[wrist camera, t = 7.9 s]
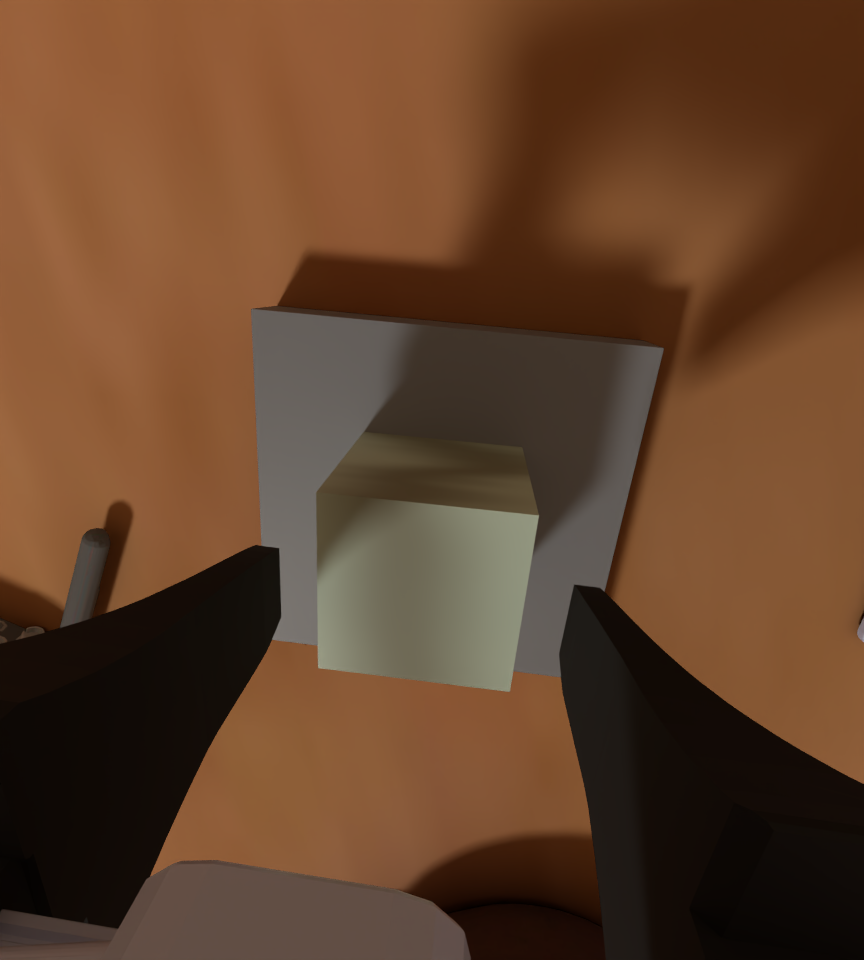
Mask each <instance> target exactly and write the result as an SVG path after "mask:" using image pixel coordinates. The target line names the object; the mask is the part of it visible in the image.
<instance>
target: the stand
mask: <svg viewBox="0 0 864 960" xmlns="http://www.w3.org/2000/svg"><path fill="white" fill-rule="evenodd" d="M251 316H252V338H253V361H254V383H255V406H256V428H257V451H258V473H259V496H260V518H261V541H262V546H266V547H275V548H279V553H280V586H281V619H280V622H279V624H278V627H277V629H276V631H275V634H274V636H273V638H272V640H279V641H287V642H295V643H302V644H310V645H318V613H317V520H316V492H317V491H318V489H319V488H320V487H321V485H322V484H323V483H324V482H325V480H326V479H327V478H328V477H329V475H330V474H331V473H332V471H333V470H334V469H335V468H336V466H337V465H338V464H339V463H340V461H341V460H342V459H343V458H344V456H345V455H346V454H347V452H348V451H349V450H350V449H351V447H352V446H353V445H354V444H355V442H356V441H357V440H358V438H359V437H360V436H361V435H362V433H363V432H371V433H381V434H392V435H402V436H412V437H422V438H433V439H443V440H453V441H464V442H474V443H484V444H495V445H505V446H515V447H522V448H523V452H524V456H525V460H526V464H527V468H528V472H529V477H530V481H531V485H532V489H533V493H534V497H535V501H536V505H537V510H538V514H539V518H538V524H537V530H536V536H535V542H534V548H533V554H532V560H531V566H530V572H529V579H528V585H527V591H526V597H525V603H524V609H523V615H522V621H521V627H520V633H519V639H518V645H517V651H516V657H515V663H514V669H513V671H517V672H524V673H532V674H540V675H547V676H555V677H561V671H560V660H559V651H560V647H561V642H562V638H563V633H564V628H565V624H566V619H567V615H568V610H569V605H570V601H571V596H572V591H573V587H574V585H583V586H591V587H599V588H601V589H602V590H603V591H604V592H605V588H606V583H607V579H608V575H609V571H610V567H611V563H612V559H613V555H614V551H615V547H616V543H617V538H618V534H619V530H620V526H621V522H622V518H623V514H624V510H625V506H626V502H627V498H628V493H629V489H630V485H631V481H632V477H633V473H634V469H635V465H636V461H637V457H638V452H639V448H640V444H641V440H642V436H643V432H644V428H645V424H646V420H647V416H648V412H649V407H650V403H651V399H652V395H653V391H654V387H655V383H656V379H657V375H658V371H659V366H660V362H661V358H662V354H663V350H664V348H662V347H660V346H657V345H654V344H651V343H649V342H646V341H643V340H633V339H622V338H611V337H601V336H590V335H580V334H569V333H558V332H548V331H537V330H526V329H516V328H505V327H495V326H484V325H473V324H463V323H452V322H442V321H431V320H420V319H410V318H399V317H389V316H378V315H367V314H357V313H346V312H336V311H325V310H314V309H304V308H293V307H283V306H272V307H263V308H255V309H251Z"/></svg>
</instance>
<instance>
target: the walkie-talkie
mask: <svg viewBox="0 0 864 960" xmlns="http://www.w3.org/2000/svg"><path fill="white" fill-rule="evenodd" d="M109 548H110V539H109V535H108V533H107V532H106V531H105V530H104V529H100V528H96V529H90V530H89V531H87V532H86V533H85V534H84V535H83V537H82V540H81V544H80V548H79V553H78V557H77V561H76V565H75V569H74V573H73V577H72V581H71V585H70V589H69V593H68V597H67V601H66V605H65V609H64V613H63V617H62V621H61V626H60V628H61V627H65V626H68V625H71V624H75V623H78V622H81V621H85V620H88V619H91V618H92V616H93V612H94V609H95V605H96V601H97V598H98V594H99V590H100V582H101V578H102V574H103V570H104V567H105V563H106V559H107V555H108V551H109ZM41 633H45V632H44V630H43V628H41V627H37V626H33V627H28V628H26V629H24V628H22V627H20V626H17V625H15V624H13V623H10V622H8V621H6V620H4V619H1V618H0V644H1V643H5V642H10V641H14V640H18V639H22V638H26V637H30V636H34V635H38V634H41Z"/></svg>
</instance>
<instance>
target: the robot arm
mask: <svg viewBox="0 0 864 960" xmlns="http://www.w3.org/2000/svg"><path fill="white" fill-rule="evenodd" d="M280 619H281V586H280V553H279V548H275V547H266V546H258V545H255V546H252V547H250V548H247V549H245V550H243V551H241V552H239V553H237V554H235V555H233V556H231V557H229V558H227V559H225V560H223V561H221V562H219V563H217V564H215V565H213V566H211V567H210V568H208V569H206V570H204V571H202V572H200V573H198V574H196V575H194V576H192V577H190V578H188V579H186V580H184V581H181V582H179V583H177V584H175V585H173V586H171V587H168V588H166V589H164V590H162V591H160V592H158V593H155V594H153V595H151V596H149V597H147V598H144V599H142V600H139V601H137V602H135V603H132V604H130V605H127V606H124V607H122V608H119V609H116V610H114V611H111V612H108V613H105V614H103V615H100V616H97V617H94V618H91V619H88V620H85V621H81V622H78V623H75V624H71V625H68V626H65V627H61V628H58V629H55V630H51V631H48V632H45V633H41V634H38V635H34V636H30V637H26V638H22V639H18V640H14V641H10V642H5V643H1V644H0V960H471V957H470V953H469V949H468V945H467V941H466V937H465V933H464V931H463V930H462V928H461V927H460V926H459V925H458V924H457V923H456V922H455V921H454V920H453V919H452V918H450V917H449V916H448V915H447V914H446V913H445V912H444V911H442V910H441V909H440V908H439V907H438V906H437V905H435V904H434V903H433V902H432V901H429V900H426V899H423V898H420V897H417V896H414V895H411V894H408V893H405V892H402V891H399V890H396V889H391V888H385V887H379V886H373V885H367V884H360V883H354V882H348V881H342V880H336V879H329V878H323V877H317V876H311V875H305V874H298V873H292V872H286V871H280V870H274V869H268V868H261V867H255V866H249V865H243V864H237V863H230V862H224V861H218V860H202V861H180V862H177V863H174V864H172V865H170V866H168V867H167V868H165V869H163V870H161V871H160V872H158V873H156V874H154V875H153V876H151V877H150V875H151V872H152V870H153V868H154V865H155V863H156V861H157V858H158V856H159V854H160V851H161V849H162V847H163V844H164V842H165V840H166V837H167V835H168V833H169V831H170V829H171V827H172V824H173V822H174V820H175V818H176V816H177V813H178V811H179V809H180V807H181V805H182V802H183V800H184V798H185V796H186V794H187V792H188V789H189V787H190V785H191V783H192V781H193V779H194V777H195V775H196V773H197V771H198V769H199V767H200V765H201V763H202V761H203V758H204V756H205V754H206V752H207V750H208V748H209V747H210V745H211V743H212V741H213V739H214V738H215V736H216V734H217V732H218V730H219V729H220V727H221V726H222V724H223V722H224V721H225V719H226V717H227V716H228V714H229V713H230V711H231V709H232V708H233V706H234V704H235V703H236V701H237V700H238V698H239V696H240V695H241V693H242V692H243V690H244V688H245V687H246V685H247V683H248V682H249V680H250V679H251V677H252V675H253V674H254V672H255V670H256V669H257V667H258V665H259V664H260V662H261V660H262V659H263V657H264V655H265V653H266V652H267V649H268V647H269V645H270V643H271V641H272V638H273V636H274V634H275V631H276V629H277V627H278V624H279V622H280ZM857 634H858V637H859V638H860V639H861V640H862V641H863V642H864V618H863V620H862V622H861V624H860V626H859V628H858V632H857ZM559 660H560V671H561V681H562V690H563V696H564V701H565V705H566V709H567V714H568V718H569V723H570V727H571V731H572V735H573V740H574V744H575V748H576V752H577V756H578V761H579V765H580V769H581V773H582V778H583V782H584V787H585V792H586V797H587V802H588V808H589V816H590V823H591V831H592V839H593V846H594V854H595V862H596V871H597V879H598V888H599V897H600V905H601V915H602V925H603V935H604V945H605V955H606V960H864V784H862V783H860V782H858V781H856V780H854V779H852V778H850V777H848V776H846V775H844V774H843V773H841V772H839V771H837V770H835V769H833V768H832V767H830V766H828V765H826V764H824V763H823V762H821V761H819V760H817V759H816V758H814V757H812V756H810V755H808V754H807V753H805V752H803V751H801V750H800V749H798V748H796V747H795V746H793V745H791V744H790V743H788V742H786V741H785V740H783V739H781V738H780V737H778V736H776V735H775V734H773V733H772V732H770V731H769V730H767V729H766V728H764V727H763V726H761V725H759V724H758V723H756V722H755V721H753V720H752V719H750V718H749V717H747V716H746V715H744V714H743V713H741V712H740V711H738V710H737V709H736V708H734V707H733V706H731V705H730V704H728V703H727V702H726V701H724V700H723V699H722V698H720V697H719V696H718V695H717V694H715V693H714V692H713V691H711V690H710V689H709V688H707V687H706V686H705V685H703V684H702V683H701V682H699V681H698V680H697V679H696V678H695V677H693V676H692V675H691V674H690V673H688V672H687V671H686V670H685V669H684V668H683V667H682V666H680V665H679V664H678V663H677V662H676V661H675V660H674V659H672V658H671V657H670V656H669V655H668V654H667V653H666V652H665V651H663V650H662V649H661V648H660V647H659V646H658V645H657V644H656V643H655V642H654V641H653V640H652V639H651V638H650V637H649V636H648V635H647V634H646V633H645V632H644V631H643V630H642V629H641V628H640V627H639V626H638V625H637V624H636V623H635V622H634V621H633V620H632V619H631V618H630V617H629V616H628V615H627V614H626V613H625V612H624V611H623V610H622V609H621V608H620V607H619V606H618V605H617V604H616V603H615V602H614V601H613V600H612V599H611V598H610V597H609V596H608V595H607V594H606V593H605V592H604V591H603V590H602V589H601V588H599V587H591V586H583V585H574V587H573V591H572V596H571V601H570V605H569V610H568V615H567V619H566V624H565V628H564V633H563V638H562V642H561V647H560V651H559Z"/></svg>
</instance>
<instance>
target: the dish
mask: <svg viewBox="0 0 864 960" xmlns="http://www.w3.org/2000/svg"><path fill="white" fill-rule="evenodd" d="M447 915H448V916H449V917H450V918H452V919H453V920H454V921H455V922H456V923H457V924H458V925H459V926H460V927H461V928H462V930H463V931H464V933H465V937H466V941H467V945H468V949H469V953H470V957H471V960H606V955H605V945H604V935H603V928H601V927H600V926H598V925H596V924H594V923H592V922H590V921H588V920H586V919H583V918H580V917H578V916H575V915H572V914H569V913H566V912H563V911H559V910H555V909H551V908H547V907H540V906H533V905H525V904H495V905H487V906H482V907H476V908H472V909H467V910H462V911H457V912H453V913H449V914H447Z"/></svg>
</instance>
